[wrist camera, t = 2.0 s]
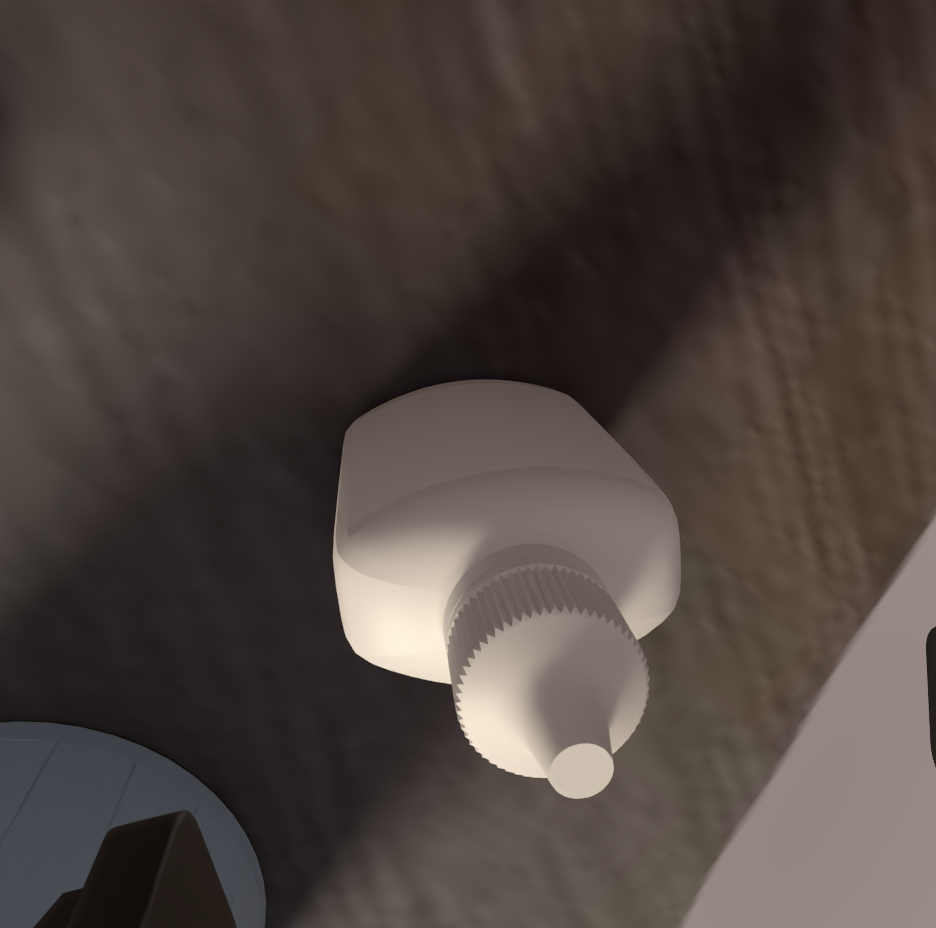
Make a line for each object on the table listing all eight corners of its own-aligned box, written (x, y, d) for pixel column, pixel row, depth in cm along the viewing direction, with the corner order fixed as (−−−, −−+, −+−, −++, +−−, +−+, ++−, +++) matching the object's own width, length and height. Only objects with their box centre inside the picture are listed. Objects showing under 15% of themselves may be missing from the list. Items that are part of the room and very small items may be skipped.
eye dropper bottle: (388, 318, 19) (413, 500, 8) (607, 407, 20) (900, 676, 9) (321, 489, 20) (256, 866, 9) (532, 564, 22) (713, 981, 10)
